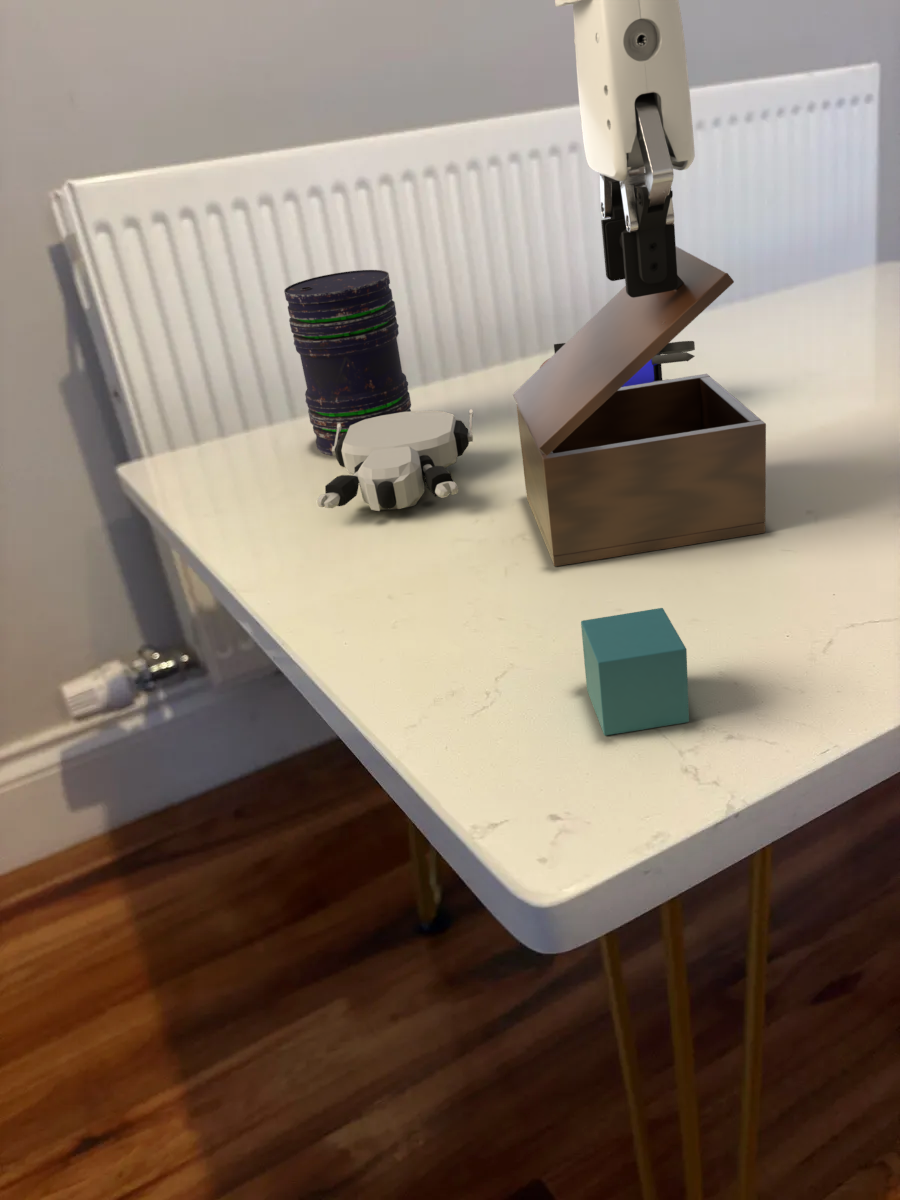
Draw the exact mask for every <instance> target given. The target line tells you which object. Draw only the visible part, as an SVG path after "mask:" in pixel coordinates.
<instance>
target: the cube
mask: <svg viewBox="0 0 900 1200" xmlns="http://www.w3.org/2000/svg"><path fill="white" fill-rule="evenodd" d="M580 626H581V627H580V628H581V640H582V650H583V661H584V673H585V683H586V684H585V685H586V691H587V694H588V697H589V699H590V702H591V704H592V707H593V709H594V713H595V715H596V718H597V720H598V722H599V726H600V728H601V731H602V734H603V736H604V737H605V736H613V735H617V734H623V733H630V732H636V731H642V730H649V729H655V728H660V727H661V728H662V727H666V726H667V727H668V726H672V725H673V726H674V725H680V724H685V723H689V722H690V709H689V705H690V704H689V682H688V678H689V677H688V651H687V648H686V645H685V643H684V642H683V640H682V639H681V637H680V634H679V633H678V631H677V630H676V628H675V627H674V624H673V623H672V622H671V619H670V618H669V616H668V614H667V613H666V611H665V609H664V608H663V607H658V608H651V609H645V610H640V611H634V612H627V613H622V614H614V615H609V616H602V617H597V618H590V619H584V620H581V621H580Z"/></svg>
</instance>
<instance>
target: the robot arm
mask: <svg viewBox="0 0 900 1200" xmlns="http://www.w3.org/2000/svg"><path fill="white" fill-rule="evenodd" d="M554 3H555V4H554V6H555V8H559V7H566V6H572V12H573V13H572V14H573V31H574V38H573V44H574V49H575V50H574V51H575V63H576V79H577V90H578V92H577V93H578V103H579V104H578V105H579V114H580V115H579V116H580V123H581V132H582V133H581V134H582V141H583V147H584V148H583V149H584V155H585V159H586V163H587V165H588V167H589V168H590V169H591V170H592V171H594V172H595V173H598V174H599V193H600V195H599V197H600V198H599V199H600V200H599V201H600V212H601V217H602V219H601V220H600V223H601V224H600V225H601V233H602V244H603V256H604V257H603V258H604V267H605V269H604V270H605V277H606V278H607V279H608V280H609V281H610V282H616V281H622V280H624V283H625V286H626V292H627V294H628V295H629V296H630V297H633V298H635V297H640V296H646V295H651V294H657V293H662V292H667V291H672V290H675V289H676V288H677V285H678V278H677V261H676V246H677V245H676V229H675V228H676V227H675V211H674V203H673V196H674V195H673V194H674V191H673V190H672V186H673V181H674V176H675V175H674V170H676V171H687V170H688V169H689V168H690V167H691V165H692V164H693V162H694V160H695V157H696V156H695V155H696V154H695V152H696V151H695V137H694V126H693V115H692V103H691V92H690V83H689V71H688V60H687V52H686V51H687V50H686V43H685V33H684V26H683V25H684V24H683V19H682V13H681V7H680V1H679V0H554ZM626 228H627V231H625V232H623V231H624V230H625V229H626ZM621 234H622V246H623V249H622V247H621V245H620V236H621Z"/></svg>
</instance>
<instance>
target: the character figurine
mask: <svg viewBox="0 0 900 1200" xmlns="http://www.w3.org/2000/svg"><path fill="white" fill-rule="evenodd" d="M565 343H566V342H561V343H553V351H554V354H555V353H556V352H557V351H558V350H559V349H560V348H561V347H562V346H563V345H564V344H565ZM695 344H696V343H695V341H694V340H681V341H671V342H669V343H668V344H667V345H666V346H665V347H664V348H663V349H662V350H661V351H660V352H658V353H657V354H656V355H655V356H654V357H653V358H652V359H651V360H650V361H649V362H648V363H647V364H646V365H644V366H643V367H642V368H641V369H640V370H639V371H638V372H637V373H636V374H635V375H634V376H633V377H632V378H630V379H629V380H628V381H627V382H626V383H625V384H624V385H623V386H622V387H626V386H632V385H638V384H645V383H651V382H657V381H663V380H664V379H663V368H662V367H663V366H662V364H671V363H679V362H680V363H682V362H687V363H688V362H689V361H690V360H692V359H693V358H695V357H696V355H693V354H692V353H690V352H693V351H695V350H696V347H695ZM550 358H551V357H550ZM550 358H547V359H546V360H545V361H544V362H543V363H542V364H541V365H540V367H542V366H543V365H544V364H545V363H546V362H547V361H548V360H549V359H550ZM540 367H539V368H540ZM668 380H670V379H668Z"/></svg>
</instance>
